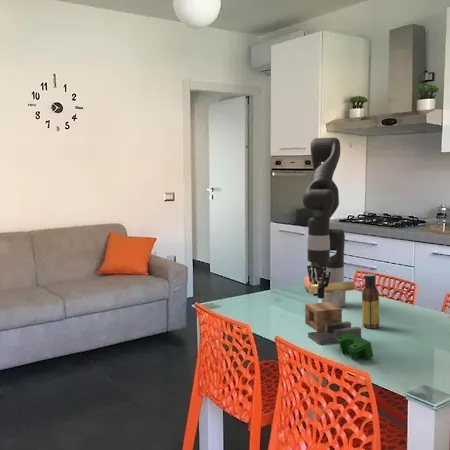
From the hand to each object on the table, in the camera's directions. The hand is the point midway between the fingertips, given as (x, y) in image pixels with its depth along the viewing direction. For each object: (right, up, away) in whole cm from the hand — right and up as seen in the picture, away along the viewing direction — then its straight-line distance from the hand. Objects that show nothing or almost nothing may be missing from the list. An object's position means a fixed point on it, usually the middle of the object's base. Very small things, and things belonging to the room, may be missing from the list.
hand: (318, 296), depth 180 cm
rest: (+6, -15, +3) cm, 16 cm away
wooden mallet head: (+5, -13, +17) cm, 22 cm away
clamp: (+9, -17, -13) cm, 24 cm away
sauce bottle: (+22, -13, +15) cm, 30 cm away
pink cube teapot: (+11, -7, +70) cm, 71 cm away
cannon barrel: (+5, +1, +1) cm, 5 cm away
